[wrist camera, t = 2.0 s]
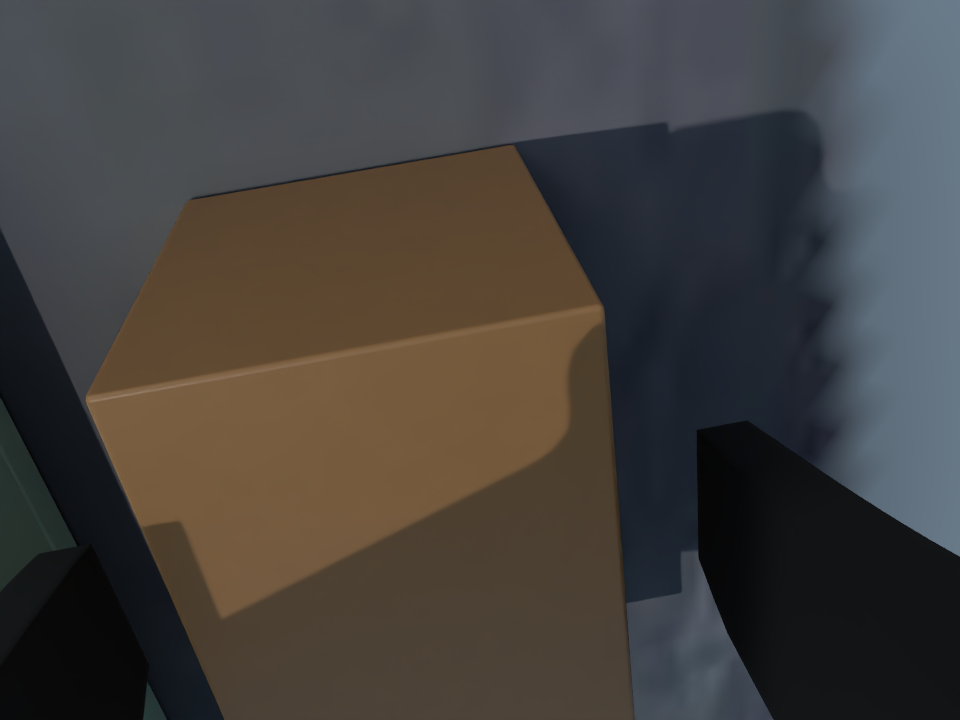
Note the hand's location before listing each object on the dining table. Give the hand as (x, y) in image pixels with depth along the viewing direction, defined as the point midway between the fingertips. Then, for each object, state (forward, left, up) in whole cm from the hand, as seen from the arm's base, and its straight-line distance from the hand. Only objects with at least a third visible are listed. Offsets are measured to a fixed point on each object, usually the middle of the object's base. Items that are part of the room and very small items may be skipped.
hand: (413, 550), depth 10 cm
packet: (0, 0, -2) cm, 2 cm away
